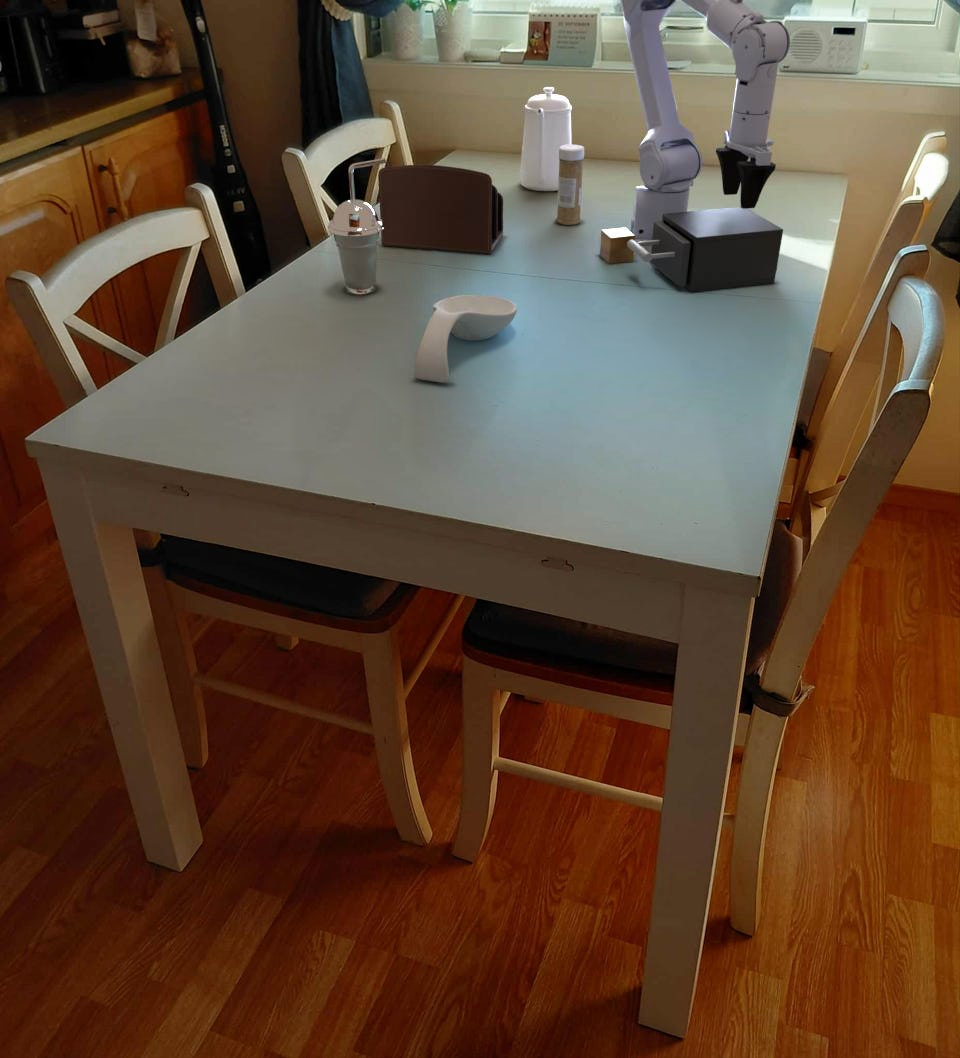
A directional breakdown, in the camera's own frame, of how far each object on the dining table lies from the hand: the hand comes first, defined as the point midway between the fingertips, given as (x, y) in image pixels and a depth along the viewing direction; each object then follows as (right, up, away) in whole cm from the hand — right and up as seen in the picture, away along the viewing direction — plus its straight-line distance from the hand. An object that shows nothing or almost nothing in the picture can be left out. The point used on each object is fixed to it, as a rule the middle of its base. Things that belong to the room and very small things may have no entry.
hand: (738, 200), depth 157 cm
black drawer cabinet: (-4, -11, +1) cm, 12 cm away
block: (-19, -7, +8) cm, 21 cm away
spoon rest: (-44, -28, -22) cm, 57 cm away
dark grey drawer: (-8, -11, 0) cm, 14 cm away
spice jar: (-25, +4, +25) cm, 36 cm away
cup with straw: (-60, -15, -3) cm, 62 cm away
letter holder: (-48, -2, +16) cm, 51 cm away
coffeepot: (-28, +18, +45) cm, 56 cm away
